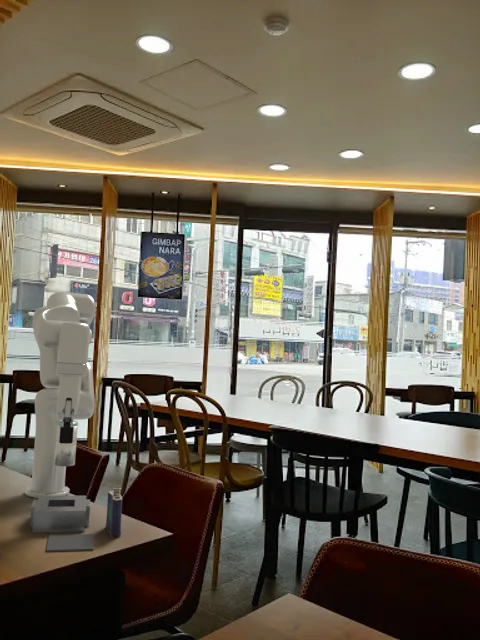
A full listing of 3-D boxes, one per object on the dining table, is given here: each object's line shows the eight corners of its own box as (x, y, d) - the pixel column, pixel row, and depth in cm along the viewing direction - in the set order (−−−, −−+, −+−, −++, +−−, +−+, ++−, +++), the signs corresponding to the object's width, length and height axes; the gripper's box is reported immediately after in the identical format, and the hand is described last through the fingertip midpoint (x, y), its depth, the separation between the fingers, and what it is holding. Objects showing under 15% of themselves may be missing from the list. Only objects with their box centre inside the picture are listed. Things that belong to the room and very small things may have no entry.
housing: (33, 515, 146) (35, 496, 147) (88, 514, 150) (89, 495, 150) (27, 532, 133) (29, 511, 133) (88, 531, 137) (90, 510, 137)
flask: (104, 526, 141) (107, 483, 142) (116, 525, 142) (119, 483, 143) (110, 538, 133) (114, 492, 133) (123, 537, 134) (126, 492, 134)
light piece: (54, 462, 144) (58, 420, 145) (74, 462, 146) (78, 420, 146) (53, 466, 140) (57, 422, 140) (74, 466, 141) (78, 423, 141)
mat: (49, 536, 131) (49, 534, 131) (92, 535, 134) (93, 533, 134) (46, 551, 122) (46, 550, 122) (93, 550, 124) (93, 548, 124)
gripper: (58, 367, 151) (52, 435, 150) (54, 371, 135) (48, 447, 134) (86, 368, 153) (81, 435, 152) (86, 372, 137) (81, 447, 136)
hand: (66, 440), depth 143 cm, fingers closed on light piece, 5 cm apart
